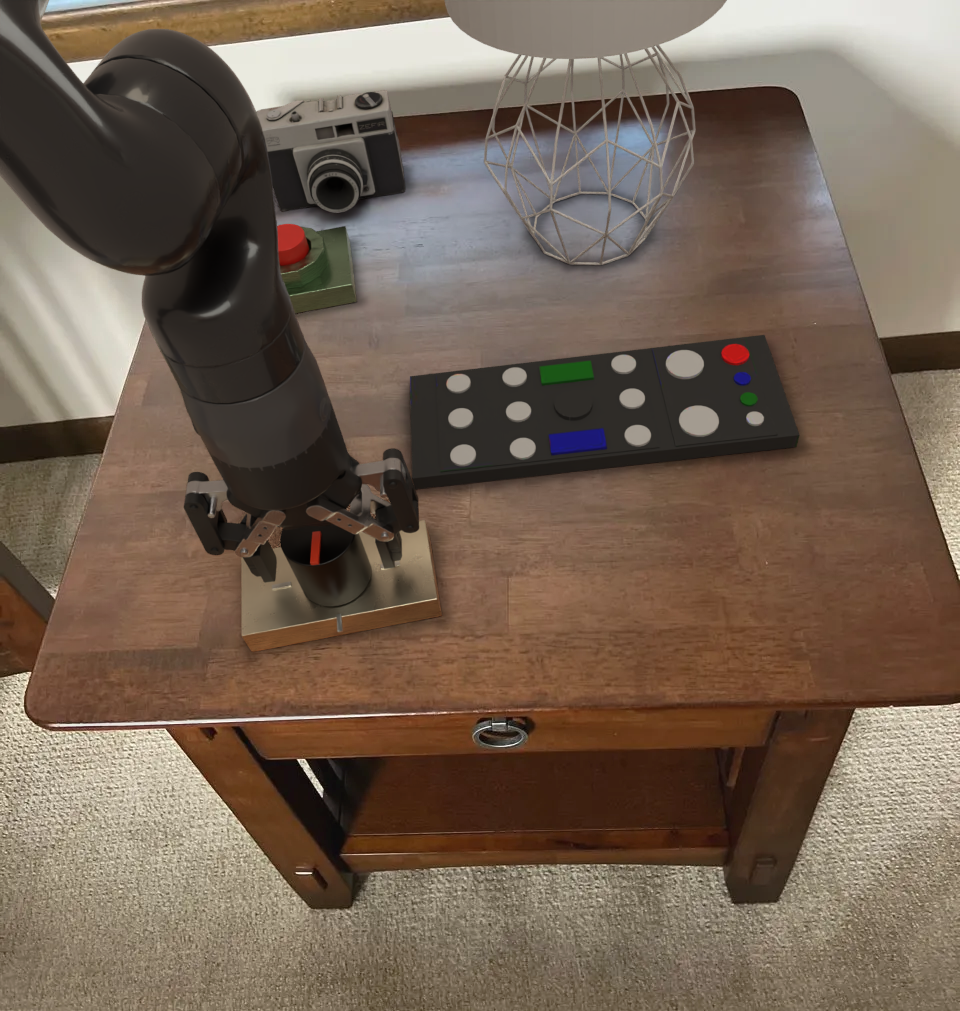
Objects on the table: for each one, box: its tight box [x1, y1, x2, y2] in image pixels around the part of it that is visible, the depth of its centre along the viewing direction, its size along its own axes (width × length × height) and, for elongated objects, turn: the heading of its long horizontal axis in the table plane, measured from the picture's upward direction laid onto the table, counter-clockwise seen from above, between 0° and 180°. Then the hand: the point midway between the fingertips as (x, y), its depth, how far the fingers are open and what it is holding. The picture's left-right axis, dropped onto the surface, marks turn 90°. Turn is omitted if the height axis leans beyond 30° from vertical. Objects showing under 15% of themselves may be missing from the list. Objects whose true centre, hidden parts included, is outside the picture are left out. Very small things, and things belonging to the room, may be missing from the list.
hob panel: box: [240, 519, 443, 653], centre depth 67 cm, size 14×9×3 cm
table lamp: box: [444, 0, 728, 266], centre depth 74 cm, size 22×22×40 cm
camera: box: [256, 89, 406, 214], centre depth 93 cm, size 14×9×10 cm, turn 89°
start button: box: [277, 223, 309, 266], centre depth 86 cm, size 4×4×2 cm
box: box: [280, 225, 358, 314], centre depth 89 cm, size 11×9×4 cm
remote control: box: [409, 334, 800, 490], centre depth 75 cm, size 11×30×2 cm, turn 94°
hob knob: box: [279, 524, 371, 606], centre depth 64 cm, size 5×5×6 cm
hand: (330, 564), depth 65 cm, fingers open, 8 cm apart
